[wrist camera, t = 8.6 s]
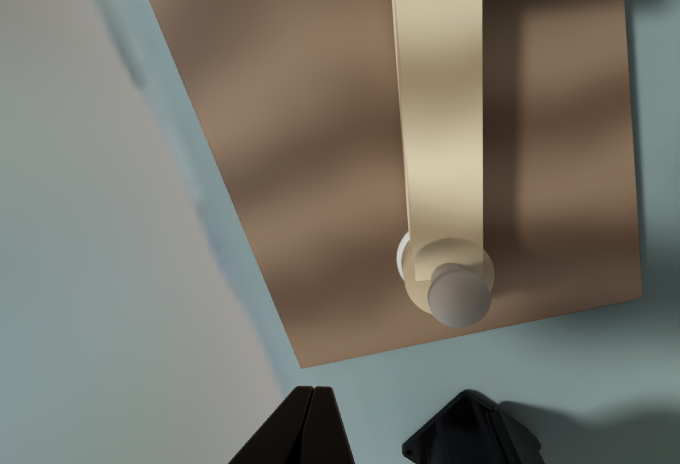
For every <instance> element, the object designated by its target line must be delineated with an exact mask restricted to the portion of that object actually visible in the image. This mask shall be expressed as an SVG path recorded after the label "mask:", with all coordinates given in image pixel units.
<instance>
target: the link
mask: <svg viewBox="0 0 680 464" xmlns="http://www.w3.org/2000/svg"><path fill="white" fill-rule="evenodd" d="M392 9H393V23H394V37H395V50H396V64H397V78H398V92H399V106H400V119H401V133H402V147H403V161H404V174H405V188H406V202H407V216H408V229H409V241H408V242H407V244H406V245H405V247H404V250H403V253H402V257H401V266H402V272H403V277H404V282H405V287H406V290H407V293H408V295H409V297H410V298H411V300H412V301H413V302H414V304H415V305H417V306H418V307H419V308H420V309H422V310H423V311H425V312H427V313H430V314H432V315H433V316H434V317H435V318H436V319H437V320H438V321H439V322H440V323H442V324H444V325H446V326H449V327H454V328H463V327H468V326H471V325H474V324H476V323H477V322H479V321H480V320H482V319H483V318H484V317H485V315H486V314H487V313H488V311H489V308H490V305H491V294H490V291H491V289H492V287H493V283H494V276H495V273H494V266H493V263H492V261H491V259H490V257H489V255H488V254H487V253H486V251H485V250H484V249H483V97H482V0H392Z"/></svg>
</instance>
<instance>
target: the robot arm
mask: <svg viewBox="0 0 680 464" xmlns="http://www.w3.org/2000/svg"><path fill="white" fill-rule="evenodd" d="M467 399H468V400H467ZM464 400H467V401H464ZM540 449H541V444H540V442H539V440H538V438H537V437H535V436H534V435H532V434H531V433H530V432H529V431H528V429H527V428H526V427H525V426H523V425H522V424H520V423H519V422H517V421H516V420H514V419H513V418H511V417H510V416H508V415H507V414H505V413H504V412H502V411H501V410H499V409H496V408H492V407H491V406H489V405H488V404H486V403H485V402H483V401H482V400H480V399H479V398H478V397H476V396H475V395H473V394H472V393H470V392H466V391H464V392H461V393H459V394H458V395H457V396H456V397H455V398H454V399H453V400H451V401H450V402H449V403H448V404H447V405H446V406H445V407H444V408H443V409H441V410H440V411H439V412H438V413H437V414H436V415H435V416H434V417H433V418H431V419H430V420H429V421H428V422H427V423H426V424H425V425H424V426H423V427H421V428H420V429H419V430H418V431H417V432H416V433H415V434H414V435H412V436H411V437H410V438H409V439H408V440H407V441H406V442H405V443H404V444H403V445H402V454H403V456H405V457H406V458H408V459H409V460H411V461H412V462H414V463H416V464H545V463H544V461H543V459H542V457H541V455H540V453H539V450H540ZM228 464H355V462H354V458H353V455H352V452H351V448H350V445H349V442H348V438H347V435H346V432H345V428H344V425H343V422H342V419H341V415H340V412H339V409H338V405H337V402H336V399H335V395H334V392H333V389H332V388H331V387H322V386H317V387H315V388H313V387H312V386H297V387H295V388H294V389H293V391H292V392H291V393H290V394H289V395H288V396H287V397H286V399H285V400H284V401H283V402H282V403H281V404H280V405H279V407H278V408H277V409H276V410H275V411H274V412H273V413H272V415H271V416H270V417H269V418H268V419H267V420H266V421H265V422H264V423H263V425H262V426H261V427H260V428H259V429H258V430H257V431H256V433H255V434H254V435H253V436H252V437H251V438H250V439H249V440H248V442H247V443H246V444H245V445H244V446H243V447H242V449H240V451H239V452H238V453H237V454H236V455H235V456H234V457H233V458H232V460H231V461H230V462H229V463H228Z"/></svg>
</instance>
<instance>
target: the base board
mask: <svg viewBox="0 0 680 464" xmlns="http://www.w3.org/2000/svg"><path fill="white" fill-rule="evenodd" d="M149 1H150V4H151V6H152V9H153V11H154V13H155V16H156V18H157V21H158V23H159V26H160V28H161V30H162V33H163V35H164V38H165V40H166V43H167V45H168V47H169V50H170V52H171V55H172V57H173V59H174V62H175V64H176V67H177V69H178V72H179V74H180V76H181V79H182V81H183V84H184V86H185V89H186V91H187V93H188V96H189V98H190V101H191V103H192V106H193V108H194V110H195V113H196V115H197V118H198V120H199V123H200V125H201V127H202V130H203V132H204V135H205V137H206V139H207V142H208V144H209V147H210V149H211V152H212V154H213V156H214V159H215V161H216V164H217V166H218V169H219V171H220V173H221V176H222V178H223V181H224V183H225V186H226V188H227V190H228V193H229V195H230V198H231V200H232V202H233V205H234V207H235V210H236V212H237V215H238V217H239V219H240V222H241V224H242V227H243V229H244V232H245V234H246V236H247V239H248V241H249V244H250V246H251V249H252V251H253V253H254V256H255V258H256V261H257V263H258V266H259V268H260V270H261V273H262V275H263V278H264V280H265V282H266V285H267V287H268V290H269V292H270V295H271V297H272V299H273V302H274V304H275V307H276V309H277V312H278V314H279V316H280V319H281V321H282V324H283V326H284V329H285V331H286V333H287V336H288V338H289V341H290V343H291V345H292V348H293V350H294V353H295V355H296V358H297V360H298V362H299V365H300V367H301V369H302V368H307V367H312V366H317V365H322V364H327V363H332V362H336V361H341V360H346V359H351V358H356V357H361V356H365V355H370V354H375V353H380V352H385V351H390V350H394V349H399V348H404V347H409V346H414V345H419V344H423V343H428V342H433V341H438V340H443V339H448V338H453V337H457V336H462V335H467V334H472V333H477V332H482V331H486V330H491V329H496V328H501V327H506V326H511V325H515V324H520V323H525V322H530V321H535V320H540V319H545V318H549V317H554V316H559V315H564V314H569V313H574V312H578V311H583V310H588V309H593V308H598V307H603V306H607V305H612V304H617V303H622V302H627V301H632V300H636V299H641V298H643V290H642V274H641V259H640V243H639V227H638V211H637V195H636V179H635V163H634V147H633V132H632V116H631V100H630V84H629V68H628V52H627V36H626V20H625V5H624V0H482V97H483V249H484V250H485V251H486V253H487V254H488V255H489V257H490V259H491V261H492V263H493V266H494V273H495V276H494V283H493V287H492V289H491V291H490V294H491V305H490V308H489V311H488V313H487V314H486V315H485V317H484V318H483V319H482V320H480V321H479V322H477V323H476V324H474V325H471V326H468V327H463V328H454V327H449V326H446V325H444V324H442V323H440V322H439V321H438V320H437V319H436V318H435V317H434V316H433V315H432V314H430V313H427V312H425V311H423V310H422V309H420V308H419V307H418V306H417V305H415V304H414V302H413V301H412V300H411V298H410V297H409V295H408V293H407V290H406V287H405V282H404V280H403V279H402V277H401V275H400V273H399V270H398V266H397V250H398V246H399V244H400V242H401V240H402V238H403V237H404V235H405V234H406V233H407V232H408V230H409V229H408V216H407V202H406V188H405V174H404V161H403V147H402V133H401V119H400V106H399V92H398V78H397V64H396V50H395V37H394V23H393V9H392V0H149Z"/></svg>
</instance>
